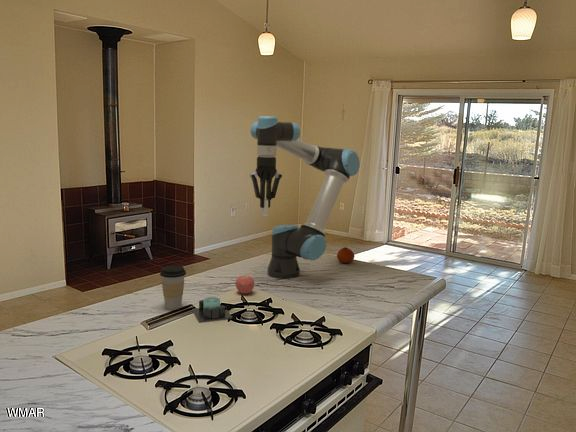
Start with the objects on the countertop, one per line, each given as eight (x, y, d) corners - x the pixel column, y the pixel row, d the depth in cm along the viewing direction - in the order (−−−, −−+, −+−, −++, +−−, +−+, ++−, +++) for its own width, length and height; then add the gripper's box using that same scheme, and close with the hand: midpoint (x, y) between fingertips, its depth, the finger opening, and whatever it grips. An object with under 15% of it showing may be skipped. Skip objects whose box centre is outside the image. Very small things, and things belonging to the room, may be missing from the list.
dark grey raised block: (192, 310, 176) (192, 299, 175) (223, 306, 181) (224, 296, 180) (198, 322, 165) (198, 311, 165) (232, 318, 170) (232, 307, 169)
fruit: (349, 266, 240) (350, 250, 239) (333, 262, 245) (334, 247, 244) (357, 262, 248) (358, 247, 246) (341, 259, 252) (342, 244, 251)
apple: (257, 293, 196) (258, 274, 195) (244, 297, 191) (244, 278, 190) (245, 288, 201) (245, 270, 200) (232, 292, 196) (232, 274, 195)
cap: (201, 311, 174) (201, 297, 173) (217, 309, 177) (217, 295, 176) (205, 317, 169) (205, 303, 168) (221, 315, 171) (222, 301, 170)
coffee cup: (163, 313, 172) (163, 273, 169) (157, 304, 180) (157, 266, 178) (189, 309, 177) (189, 270, 174) (182, 301, 185) (182, 263, 182)
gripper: (253, 156, 181) (252, 218, 185) (285, 157, 186) (283, 216, 190) (247, 155, 188) (246, 214, 192) (278, 155, 193) (276, 213, 197)
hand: (264, 215), depth 191 cm, fingers closed
